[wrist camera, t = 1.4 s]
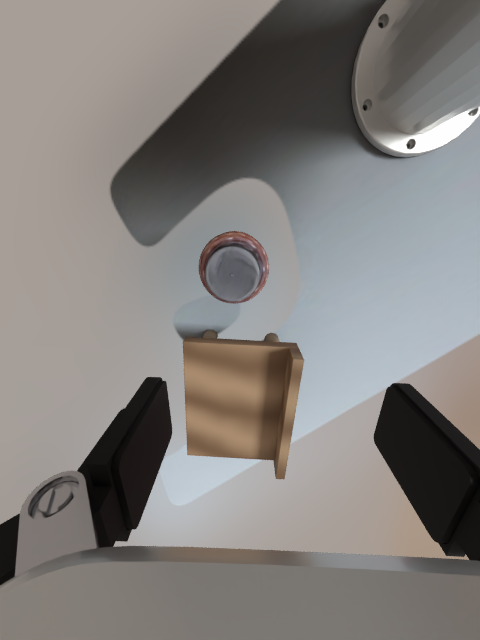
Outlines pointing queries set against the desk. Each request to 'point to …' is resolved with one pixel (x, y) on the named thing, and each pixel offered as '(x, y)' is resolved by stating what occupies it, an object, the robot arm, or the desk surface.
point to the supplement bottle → (233, 267)
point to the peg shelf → (241, 397)
